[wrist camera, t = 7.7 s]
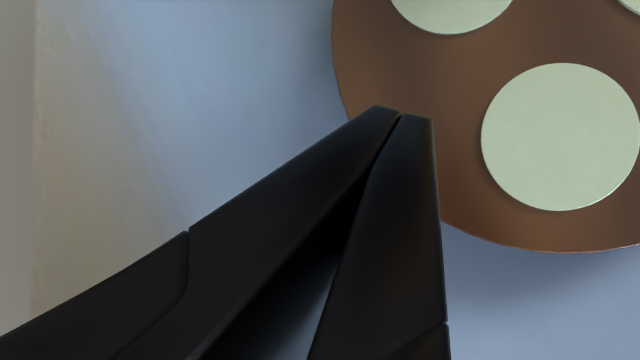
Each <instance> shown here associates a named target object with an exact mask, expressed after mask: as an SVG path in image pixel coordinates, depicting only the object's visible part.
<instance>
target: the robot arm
mask: <svg viewBox="0 0 640 360" xmlns="http://www.w3.org/2000/svg"><path fill="white" fill-rule="evenodd" d="M447 321H448V316H447V303H446V290H445V277H444V264H443V251H442V238H441V225H440V212H439V199H438V187H437V174H436V161H435V148H434V135H433V123H432V120H431V119H430V118H429V117H425V116H421V115H417V114H414V113H410V112H406V113H404V114H403V115H402V112H401V111H400V110H398V109H394V108H390V107H386V106H382V105H373V106H371V107H370V108H368V109H367V110H365V111H364V112H362V113H361V114H359V115H358V116H356V117H355V118H353V119H352V120H350V121H349V122H347V123H346V124H344V125H343V126H341V127H340V128H338V129H337V130H335V131H334V132H332V133H331V134H329V135H328V136H326V137H324V138H323V139H321V140H320V141H318V142H317V143H315V144H314V145H312V146H311V147H309V148H308V149H306V150H305V151H303V152H302V153H300V154H299V155H297V156H296V157H294V158H293V159H291V160H290V161H288V162H287V163H285V164H284V165H282V166H281V167H279V168H278V169H276V170H275V171H273V172H272V173H270V174H269V175H267V176H266V177H264V178H263V179H261V180H260V181H258V182H257V183H255V184H254V185H252V186H251V187H249V188H248V189H246V190H245V191H243V192H242V193H240V194H239V195H237V196H236V197H234V198H233V199H231V200H230V201H228V202H227V203H225V204H224V205H222V206H221V207H219V208H218V209H216V210H215V211H213V212H212V213H210V214H209V215H207V216H206V217H204V218H203V219H201V220H200V221H198V222H197V223H195V224H194V225H192V226H190V227H189V230H188V232H187V231H183V232H181V233H180V234H178V235H177V236H175V237H174V238H172V239H171V240H169V241H168V242H166V243H164V244H163V245H161V246H160V247H158V248H157V249H155V250H154V251H152V252H150V253H149V254H147V255H146V256H144V257H142V258H141V259H139V260H138V261H136V262H134V263H133V264H131V265H130V266H128V267H127V268H125V269H123V270H121V271H120V272H118V273H116V274H114V275H113V276H111V277H109V278H107V279H105V280H104V281H102V282H100V283H98V284H97V285H95V286H93V287H91V288H90V289H88V290H86V291H84V292H82V293H81V294H79V295H77V296H75V297H73V298H71V299H69V300H68V301H66V302H64V303H62V304H60V305H58V306H56V307H55V308H53V309H51V310H49V311H47V312H45V313H43V314H42V315H40V316H38V317H36V318H34V319H32V320H30V321H28V322H27V323H25V324H23V325H21V326H19V327H17V328H16V329H14V330H12V331H10V332H8V333H6V334H4V335H2V336H1V337H0V360H451V351H450V338H449V327H448V325H447Z"/></svg>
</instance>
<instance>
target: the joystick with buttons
mask: <svg viewBox="0 0 640 360" xmlns="http://www.w3.org/2000/svg"><path fill="white" fill-rule="evenodd" d="M331 43H332V54H333V65H334V71H335V75H336V80H337V84H338V89H339V93H340V96H341V99H342V102H343V105H344V107H345V110H346V113H347V116H348V118H349V121H350V120H352V119H353V118H355V117H356V116H358V115H359V114H361V113H362V112H364V111H365V110H367V109H368V108H370V107H371V106H373V105H382V106H386V107H390V108H394V109H398V110H400V111H401V112H402V115H403V114H404V113H406V112H410V113H414V114H417V115H421V116H425V117H429V118H430V119H431V120H432V123H433V135H434V148H435V161H436V174H437V187H438V199H439V212H440V220H441V221H442V222H444V223H446V224H448V225H450V226H452V227H455V228H457V229H459V230H461V231H463V232H465V233H467V234H469V235H472V236H475V237H478V238H481V239H484V240H487V241H490V242H493V243H496V244H499V245H503V246H508V247H513V248H518V249H523V250H528V251H535V252H548V253H561V254H571V253H594V252H603V251H609V250H615V249H622V248H628V247H633V246H637V245H640V0H334V4H333V10H332V31H331Z"/></svg>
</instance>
